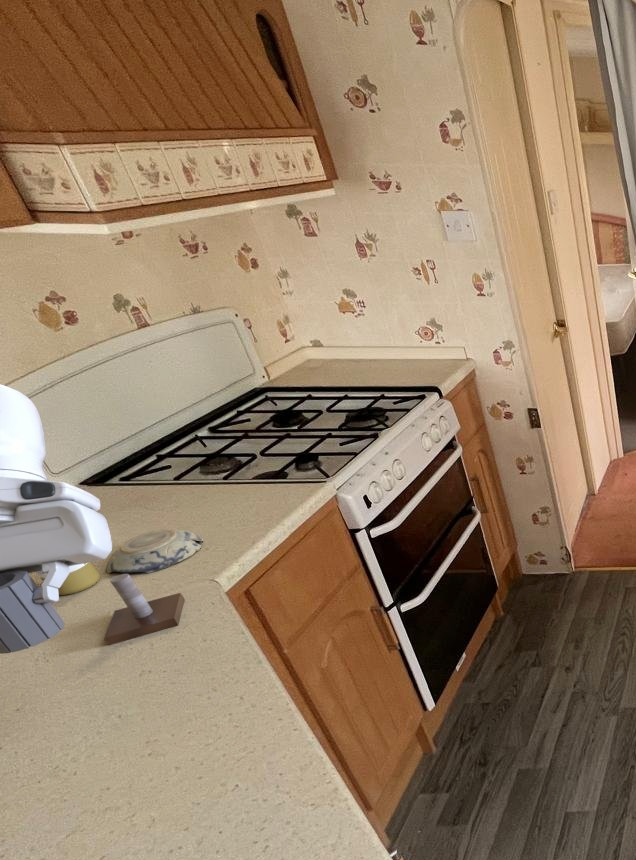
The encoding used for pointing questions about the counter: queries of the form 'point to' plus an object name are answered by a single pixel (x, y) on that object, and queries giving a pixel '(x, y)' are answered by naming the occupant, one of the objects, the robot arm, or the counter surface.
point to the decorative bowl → (153, 551)
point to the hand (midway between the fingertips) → (3, 610)
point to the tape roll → (24, 613)
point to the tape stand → (141, 612)
